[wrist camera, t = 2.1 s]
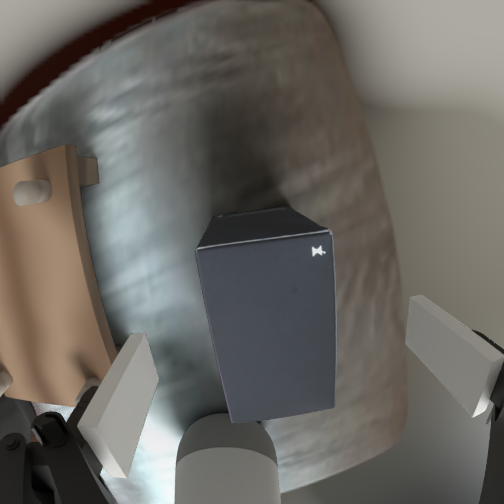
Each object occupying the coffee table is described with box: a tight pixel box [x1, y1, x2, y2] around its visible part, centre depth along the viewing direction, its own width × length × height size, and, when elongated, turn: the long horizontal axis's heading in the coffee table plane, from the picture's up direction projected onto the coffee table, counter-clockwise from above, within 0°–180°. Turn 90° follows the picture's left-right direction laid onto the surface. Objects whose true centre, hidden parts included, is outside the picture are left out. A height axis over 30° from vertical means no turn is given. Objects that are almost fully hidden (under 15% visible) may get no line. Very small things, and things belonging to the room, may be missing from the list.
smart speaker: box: [175, 413, 281, 504], centre depth 21 cm, size 10×9×14 cm
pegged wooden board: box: [0, 145, 123, 407], centre depth 19 cm, size 14×19×8 cm
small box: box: [195, 205, 337, 423], centre depth 19 cm, size 11×6×10 cm, turn 8°
